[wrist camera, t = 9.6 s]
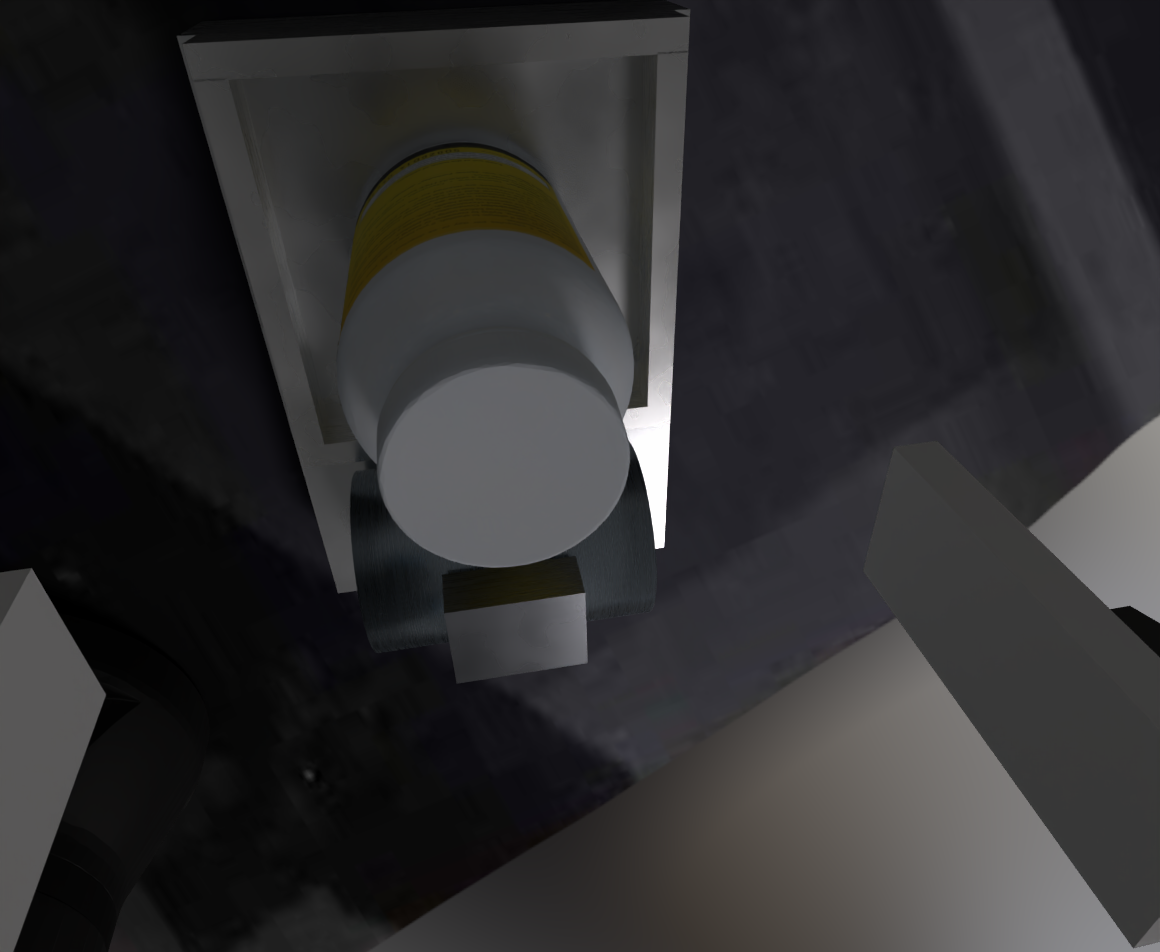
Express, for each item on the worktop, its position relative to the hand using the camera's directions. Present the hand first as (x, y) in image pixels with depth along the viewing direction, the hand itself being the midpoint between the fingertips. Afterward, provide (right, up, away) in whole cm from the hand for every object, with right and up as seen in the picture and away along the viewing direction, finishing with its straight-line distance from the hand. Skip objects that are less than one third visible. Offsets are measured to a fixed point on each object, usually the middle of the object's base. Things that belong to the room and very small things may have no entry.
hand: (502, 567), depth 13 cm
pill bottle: (-2, +8, +11) cm, 14 cm away
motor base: (-3, +7, +16) cm, 17 cm away
